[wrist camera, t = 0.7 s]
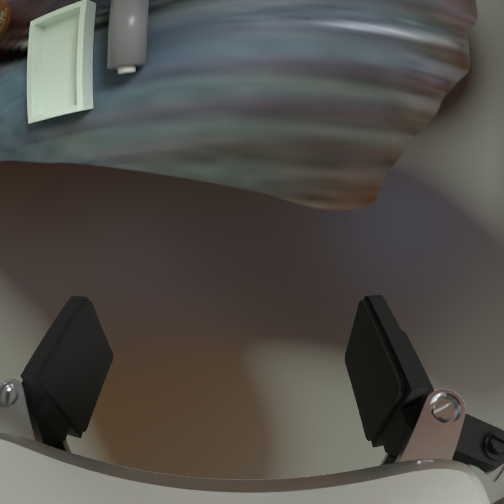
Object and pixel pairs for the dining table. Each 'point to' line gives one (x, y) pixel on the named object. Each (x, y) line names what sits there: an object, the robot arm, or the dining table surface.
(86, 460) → the robot arm
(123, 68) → the gray cylinder
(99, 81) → the dining table surface
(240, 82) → the dining table surface
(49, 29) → the sage trough
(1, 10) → the food container
